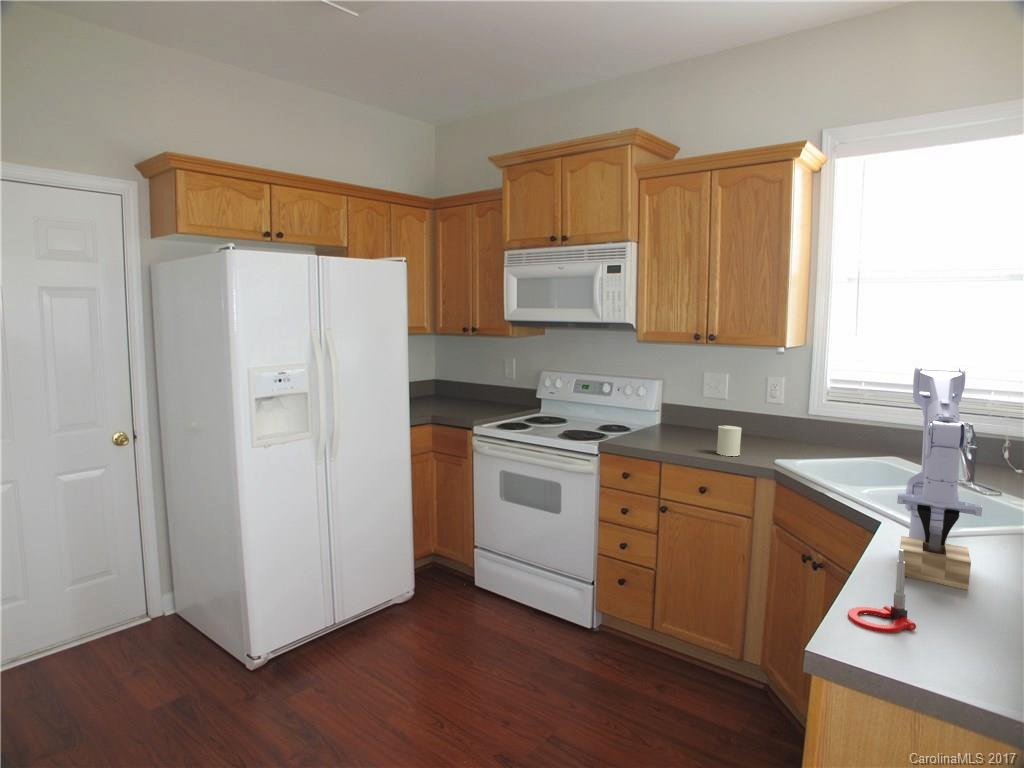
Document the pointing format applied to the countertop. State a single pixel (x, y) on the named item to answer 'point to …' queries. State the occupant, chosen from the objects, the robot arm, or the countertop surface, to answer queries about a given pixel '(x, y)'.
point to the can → (729, 440)
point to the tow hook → (894, 612)
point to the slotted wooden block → (936, 563)
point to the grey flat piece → (935, 539)
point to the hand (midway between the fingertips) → (934, 542)
